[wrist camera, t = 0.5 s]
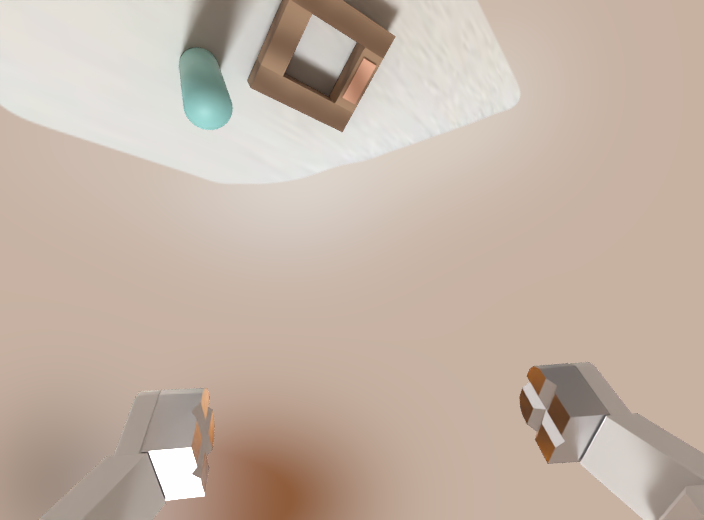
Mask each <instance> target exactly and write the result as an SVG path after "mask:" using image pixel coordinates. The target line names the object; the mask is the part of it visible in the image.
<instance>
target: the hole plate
mask: <svg viewBox="0 0 704 520" xmlns="http://www.w3.org/2000/svg"><path fill="white" fill-rule="evenodd" d="M312 14H314V15H315V16H317V17H318V18H320V19H321V20H323V21H325V22H326V23H328V24H329V25H331V26H332V27H334V28H336V29H337V30H339V31H340V32H342V33H343V34H345V35H347V36H348V37H350V38H351V39H353V40H354V41H356V42H357V44H356V46H355V48H354V50H353V51H352V53H351V55H350V57H349V59H348V61H347V63H346V65H345V67H344V69H343V71H342V73H341V74H340V76H339V78H338V80H337V82H336V84H335V86H334V88H333V90H332V92H331V94H330V96H327V95H325V94H323V93H321V92H319V91H318V90H316V89H314V88H312V87H310V86H308V85H306V84H304V83H302V82H300V81H299V80H297V79H295V78H293V77H291V76H289V75H287V74H285V71H286V69H287V67H288V65H289V62H290V60H291V58H292V56H293V54H294V52H295V50H296V47H297V45H298V43H299V41H300V39H301V37H302V34H303V32H304V30H305V28H306V26H307V24H308V22H309V19H310V17H311V15H312ZM394 38H395V36H394V35H393V34H391V33H390V32H388V31H387V30H385V29H384V28H383V27H381V26H380V25H378V24H377V23H375V22H374V21H372V20H371V19H369V18H368V17H367V16H365V15H364V14H362V13H361V12H359V11H358V10H356V9H355V8H353V7H352V6H351V5H349V4H348V3H346V2H345V1H343V0H282V2H281V4H280V6H279V9H278V11H277V13H276V16H275V18H274V20H273V22H272V25H271V27H270V29H269V32H268V34H267V36H266V39H265V41H264V43H263V46H262V48H261V50H260V53H259V55H258V57H257V60H256V62H255V64H254V67H253V69H252V71H251V74H250V76H249V78H248V83H249V85H250V87H251V88H252V89H254V90H256V91H258V92H260V93H262V94H264V95H267V96H269V97H271V98H273V99H275V100H277V101H279V102H281V103H283V104H285V105H287V106H289V107H291V108H293V109H296V110H298V111H300V112H302V113H304V114H306V115H308V116H310V117H312V118H314V119H316V120H318V121H320V122H322V123H324V124H327V125H329V126H331V127H333V128H335V129H337V130H339V131H341V132H343V130H344V128H345V126H346V125H347V123H348V121H349V119H350V117H351V116H352V114H353V112H354V110H355V108H356V107H357V105H358V103H359V101H360V99H361V98H362V96H363V94H364V92H365V90H366V89H367V87H368V85H369V83H370V81H371V80H372V78H373V76H374V74H375V72H376V71H377V69H378V67H379V65H380V63H381V62H382V60H383V58H384V56H385V54H386V53H387V51H388V49H389V47H390V45H391V44H392V42H393V40H394Z"/></svg>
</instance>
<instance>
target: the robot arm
mask: <svg viewBox="0 0 704 520" xmlns="http://www.w3.org/2000/svg"><path fill="white" fill-rule="evenodd" d="M527 377H528V379H529V381H530V382H529V383H528V384H527V385H525V386H524V387H523V388H522V391H521V394H520V408H521V412H522V415H523V417H524V419H525V421H526V423H527V425H529V426H530V427H531V428H533V429H534V430H536V431H537V433H536V438H535V440H536V442H537V444H538V446H539V448H540V450H541V452H542V454H543V456H544V458H545V459H546V461H547V463H548V464H551V463H566V462H580V464H581V465H582V466H583V467H584V468H585V469H587V470H588V471H589V472H590V473H591V474H592V475H593V476H595V477H596V478H597V479H598V480H599V481H600V482H602V484H604V485H605V486H606V487H607V488H608V489H609V490H610V491H612V492H613V493H614V494H615V495H616V496H617V497H618V498H619V499H621V500H622V501H623V502H624V503H625V504H626V505H628V506H629V507H630V508H631V509H632V510H633V511H634V512H635V513H637V514H638V515H639V516H640V517H641V518H642V519H643V520H704V454H703V453H702V452H700V451H699V450H697V449H695V448H694V447H692V446H690V445H689V444H687V443H685V442H684V441H682V440H680V439H679V438H677V437H676V436H674V435H672V434H670V433H669V432H667V431H666V430H664V429H662V428H661V427H659V426H657V425H655V424H654V423H652V422H651V421H649V420H648V419H646V418H644V417H643V416H641V415H639V414H638V413H634V414H632V413H631V412H630V411H629V409H628V408H627V407H626V406H625V404H624V403H623V402H622V400H621V399H620V398H619V397H618V395H617V394H616V393H615V391H614V390H613V389H612V388H611V386H610V385H609V384H608V382H607V381H606V380H605V379H604V377H603V376H602V375H601V373H600V372H599V371H598V370H597V368H596V367H595V366H594V365H593V364H591V363H590V362H586V363H571V364H568V363H566V364H554V365H540V366H533V367H532V368H530V369H529V372H528V374H527ZM209 399H210V396H209V393H208V389H207V388H196V389H171V390H153V391H140V392H139V393H138V394H137V396H136V397H135V399H134V402H133V404H132V407H131V410H130V412H129V415H128V418H127V420H126V423H125V426H124V429H123V431H122V434H121V437H120V439H119V442H118V444H117V447H116V450H115V453H114V455H113V456H106V457H105V458H104V459H103V460H102V461H101V462H100V463H99V464H97V465H96V466H95V467H94V468H93V469H92V470H91V471H90V472H89V473H88V474H87V475H86V476H85V477H84V478H82V479H81V480H80V481H79V482H78V483H77V484H76V485H75V486H74V487H73V488H72V489H71V490H69V491H68V492H67V493H66V494H65V495H64V496H63V497H62V498H61V499H60V500H59V501H58V502H57V503H56V504H54V505H53V506H52V507H51V508H50V509H49V510H48V511H47V512H46V513H45V514H44V515H43V516H42V517H40V518H39V519H38V520H153V519H154V518H155V517H156V515H157V514H158V513H159V511H160V510H161V509H162V507H163V506H164V504H165V503H166V501H165V500H172V499H181V498H189V497H197V496H204V495H205V489H206V483H207V478H208V472H209V465H208V461H207V455H208V454H209V453H210V452H211V451H212V448H213V442H214V427H215V425H214V415H213V410H212V409H211V408H209V407H208V405H209Z"/></svg>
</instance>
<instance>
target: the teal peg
mask: <svg viewBox="0 0 704 520" xmlns="http://www.w3.org/2000/svg"><path fill="white" fill-rule="evenodd" d="M179 70H180V79H181V88H182V97H183V106H184V111H185V114H186V116H187V118H188V119H189V120H190V121H191V122H192V123H193V124H194V125H196V126H197V127H199V128H202V129H206V130H214V129H218V128H220V127H222V126H224V125H225V124H226V123H227V122H228V121H229V119H230V117H231V115H232V102H231V99H230V96H229V93H228V90H227V88H226V85H225V82H224V79H223V76H222V73H221V71H220V68H219V65H218V62H217V60H216V58H215V57H214V56H213V54H212V53H210V52H209V51H208V50H206V49H203V48H199V47H195V48H190V49H188V50H186V51H185V52H184V53H183V54H182V56H181V58H180V61H179Z"/></svg>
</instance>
